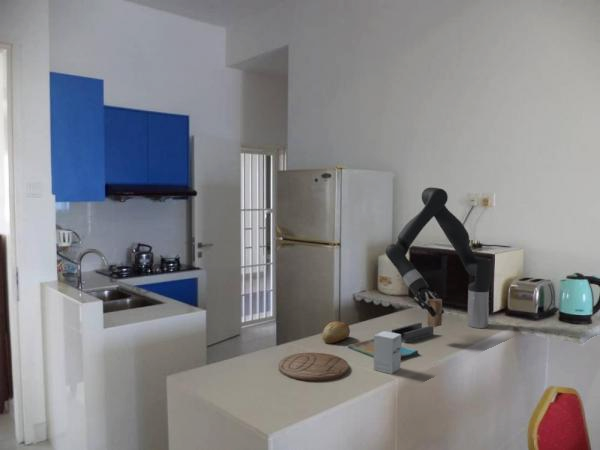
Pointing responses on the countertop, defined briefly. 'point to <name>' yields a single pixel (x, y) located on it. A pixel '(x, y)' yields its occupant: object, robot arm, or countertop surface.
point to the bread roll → (335, 332)
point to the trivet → (313, 367)
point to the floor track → (413, 332)
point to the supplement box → (387, 352)
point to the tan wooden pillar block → (437, 307)
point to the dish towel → (368, 349)
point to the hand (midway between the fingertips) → (438, 314)
